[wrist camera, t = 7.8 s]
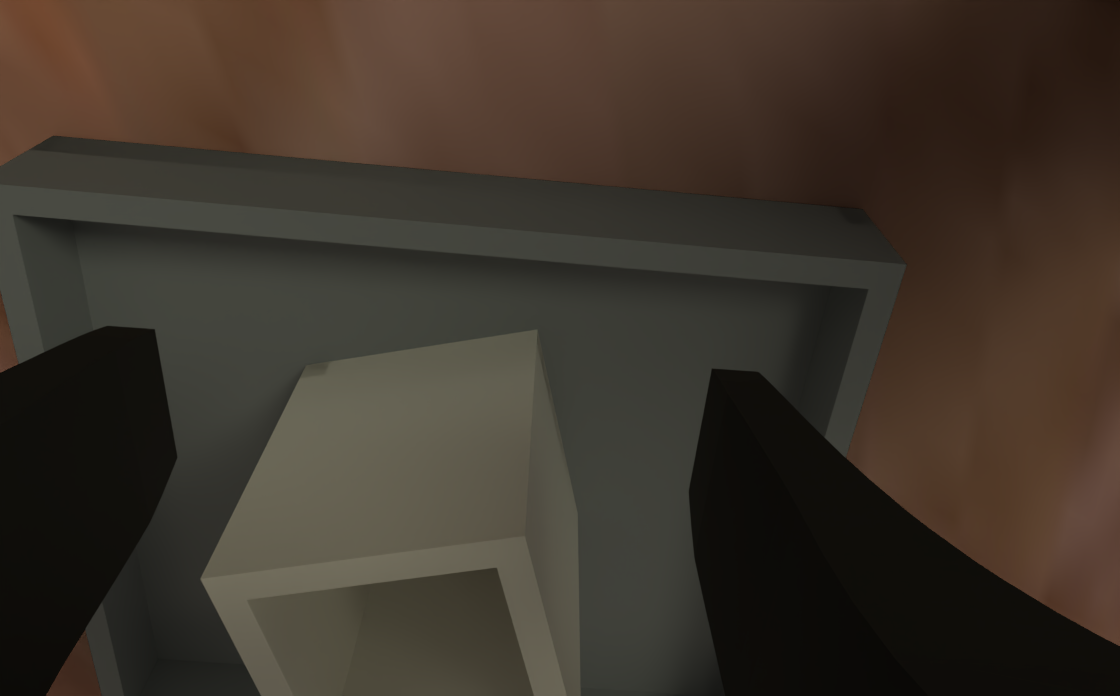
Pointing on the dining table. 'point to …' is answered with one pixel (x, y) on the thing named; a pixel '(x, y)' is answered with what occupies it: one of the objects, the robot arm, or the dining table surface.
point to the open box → (409, 532)
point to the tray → (426, 320)
